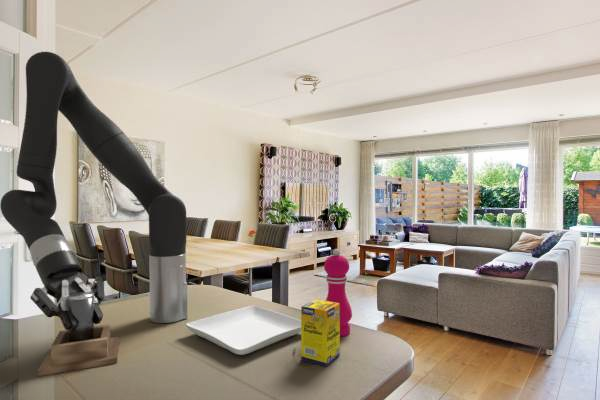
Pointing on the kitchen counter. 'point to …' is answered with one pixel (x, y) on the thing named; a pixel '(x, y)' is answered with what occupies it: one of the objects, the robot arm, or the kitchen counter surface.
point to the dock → (80, 352)
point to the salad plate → (246, 328)
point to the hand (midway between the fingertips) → (86, 325)
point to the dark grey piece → (82, 316)
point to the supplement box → (320, 332)
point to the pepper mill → (338, 287)
